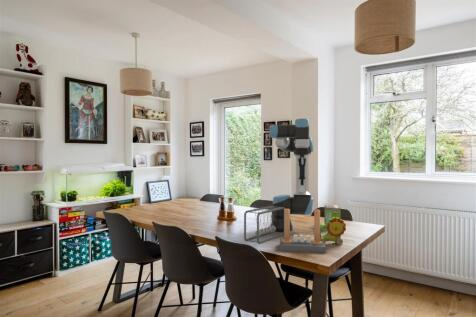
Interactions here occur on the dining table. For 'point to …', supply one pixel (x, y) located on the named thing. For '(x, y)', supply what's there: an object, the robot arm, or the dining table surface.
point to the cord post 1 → (287, 227)
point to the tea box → (331, 212)
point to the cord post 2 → (317, 228)
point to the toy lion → (333, 230)
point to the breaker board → (302, 247)
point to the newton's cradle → (265, 230)
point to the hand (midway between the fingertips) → (302, 191)
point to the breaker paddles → (302, 239)
